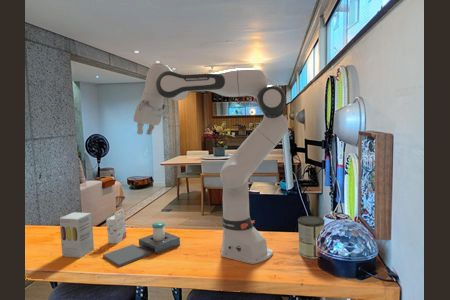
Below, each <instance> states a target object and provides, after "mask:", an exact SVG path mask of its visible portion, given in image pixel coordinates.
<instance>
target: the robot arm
mask: <svg viewBox="0 0 450 300" xmlns="http://www.w3.org/2000/svg"><path fill="white" fill-rule="evenodd" d="M144 84H145V85H144V89H143V91H142V95H141V100H140V102H139V103H138V104H137V106H136V108H135V111H134V115H133V122H134V123H137V125H136V126H137V132H136V134H137V135H143V134H144V133H143V132H144V126H145V125H148V128H147V130H146V132H145V133H146V135H148V136H151V135H152V133H153V131H154V129H155V126H159V125H160V124H161V121H162V117H163V113H164V111H165V110H166V105H165V103H164V99H165V98H167V99H170V100H174V101H182V100H185V99H186V98H187V96H188V95H189V93H190V92H202V91H206V92H211V93H214V94H217V95H220V96H222V97H229V98H237V97H238V98H239V97H253V98H254V100H255V102H256V105H257V108H258V109H259V110H260V112H262V113H263V118H262V120H261V122H260V123H258V125H257V126H256V127H255V128H254V129H253V130H252V132H250V134H249V135H248V136H247V137H246V139H244V141H243V142H241V144H240V145H239V146H238V148H237V149H235V151H234V153H233V154H232V155H231V156H230V158H228V159H227V160H225V162H224V163H223V165H222V167H221V169H220V172H219V176H220V177H219V178H220V181H221V182H222V213H223V214H222V220H221V222H222V225H221V226H222V227H223V229H222V230H223V232H222V239H221V240H222V241H221V247H220V252H221V253H220V256H221V257H223V258H227V259H231V260H235V261H238V262H242V263H246V264H250V265H254V264H255V265H256V264H260V263H262V262H264V261H267V260H268V259H269V258H271V257H272V256H273V253H274V251H273V250H272V249H271V248H268V244H267V240H266V238H265V236H263V235H262V234H261V233H260V232H259V231H258V230H257V229H256V227H255V226H254V224H255V223H256V222H255V221H256V220H255V219H254V220H252V218H251V216H250V198H249V197H250V196H249V195H250V193H249V190H250V189H249V179H250V177H251V176H253V174H254V172H255V171H257V169H258V167H259V166H260V165H261V164H262V163H263V161H264V160H265V159H266V158H267V156H269V154H270V153H271V152H273V150H274V149H275V147H276V146H277V145H279V143H280V142H281V140H282V139H283V138H284V136H285V135H286V134H287V132H288V129H289V128H290V122H289V120H288V118H287V117H286V116H285V115H284V111H285V106H286V102H287V98H286V93H285V91H284V90H283V88H281V87H279V86H278V85H274V84H268V82H267V78H266V75H265V73H264V71H262V70H261V69H257V68H235V69H234V68H233V69H227V70H223V71H218V72H217V71H216V72H211V73H194V74H180V73H177V72H175V71H173V70H172V69H171V68H170V66H169V65H166V64H162V63H154V64H151V65H150V67H149V68H148V71H147V74H146V77H145V82H144Z"/></svg>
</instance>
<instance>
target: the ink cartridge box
mask: <svg viewBox="0 0 450 300" xmlns="http://www.w3.org/2000/svg"><path fill="white" fill-rule="evenodd" d="M124 209H125V208H120V209H119V210H117V211H115V212H114V214H113V215H112V216H110V217H108V218H107V219H106V220H105V222H106V231H107V241H108V242H107V243H108V244H119V243H120V242H122V241H123V240H124V239H126V238H127V230H126V229H127V228H126V227H127V226H126V216H125V210H124Z"/></svg>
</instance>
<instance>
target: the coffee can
mask: <svg viewBox="0 0 450 300" xmlns="http://www.w3.org/2000/svg"><path fill="white" fill-rule="evenodd" d="M297 222H298V255H300V256H301V257H303V258H306V259H310V260H311V259H312V260H314V259H315V260H316V259H317V258H318V255H317V250H316V238H317V237H318V236H319V233H320V231H321V230H322V228H323V227H324V228H325V222H326V221H325V219H324V218H323V217H321V216H315V215H305V216H300V217H298V219H297ZM318 259H319V258H318Z"/></svg>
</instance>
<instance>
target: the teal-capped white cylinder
mask: <svg viewBox="0 0 450 300" xmlns="http://www.w3.org/2000/svg"><path fill="white" fill-rule="evenodd" d="M151 228H152V235H153V239H154V241H156V242H159V241H162V240H164V239H165V232H166V231H165V222H162V221H159V222H153V223H152V224H151Z"/></svg>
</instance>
